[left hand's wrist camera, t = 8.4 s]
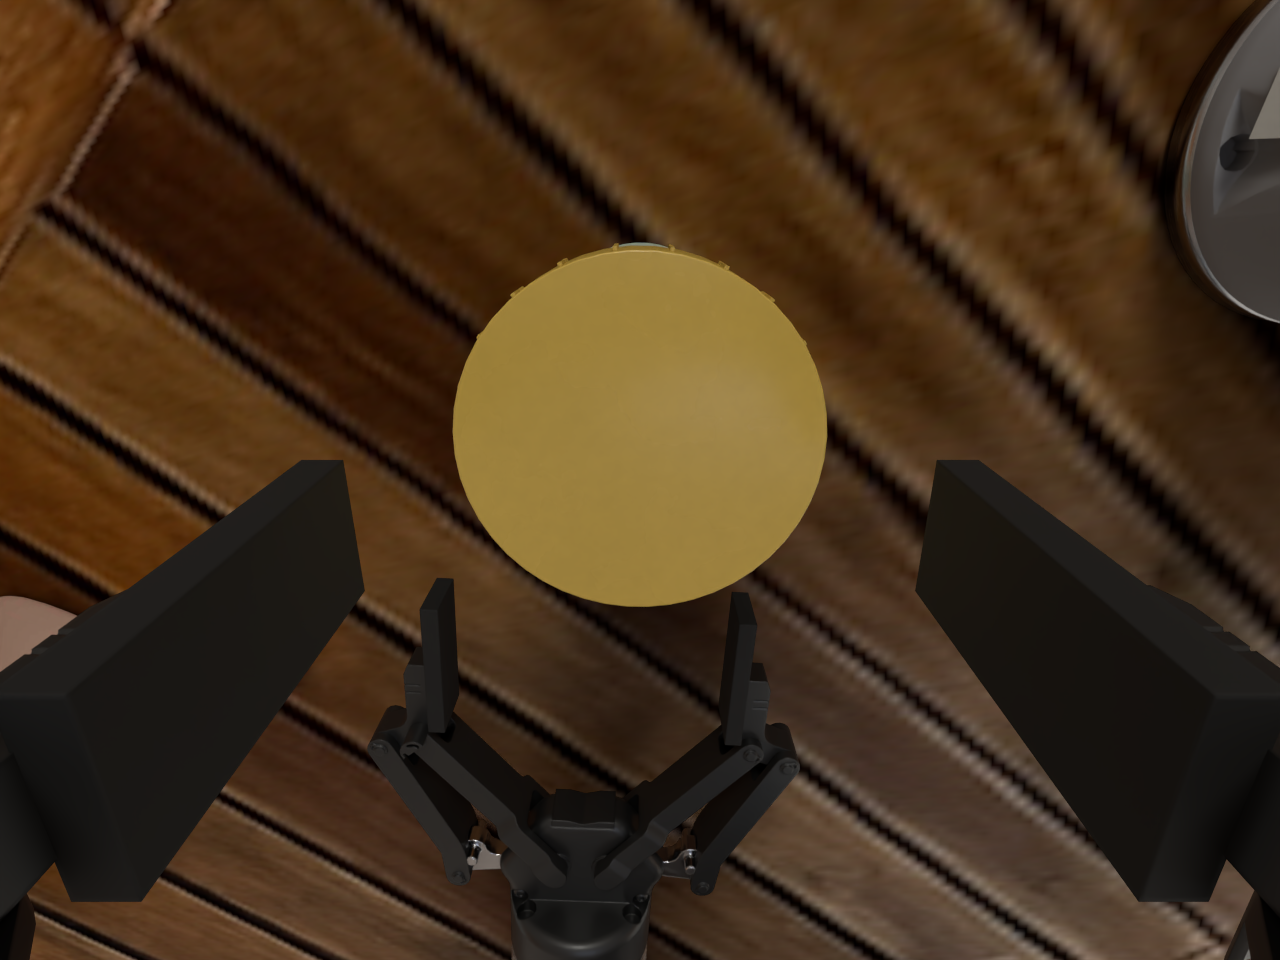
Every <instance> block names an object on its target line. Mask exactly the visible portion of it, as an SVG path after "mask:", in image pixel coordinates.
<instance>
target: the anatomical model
mask: <svg viewBox="0 0 1280 960" xmlns="http://www.w3.org/2000/svg"><path fill="white" fill-rule="evenodd" d="M75 617H77V615H74V614H72V613H69V612H67V611H65V610H62V609H59V608H56V607H54V606H51V605H48V604H45V603H42V602H38V601H35V600H32V599H28V598H24V597H17V596H3V597H0V672H1V671H2V670H4V669H5V668H6V667H8V666H9V665H10V664H12V663H13V662H15V661H16V660H17V659H19V658H20V657H21V656H23V655H24V654H31V652H32V650H31V649H32V648H34V647H35V646H37V645H38V644H39V643H41V642H42V641H44V640H45V639H46V638H48V637H49V636H50V635H57V634H58V630H59V629H60V628H61V627H63V626H64V625H66V624H67V623H68V622H70V621H71V620H72V619H74V618H75Z"/></svg>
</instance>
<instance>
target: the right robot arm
mask: <svg viewBox="0 0 1280 960" xmlns="http://www.w3.org/2000/svg"><path fill="white" fill-rule="evenodd" d="M420 621H421V635H422V647H416V649H415V651H414V653H413V655H412V657H411V659H410V661H409V663H408V665H407V667H406V670H405V672H404V684H405V697H406V708H403V707H401V706H397V705H395V706H390V707H389V708H387V710H386V711H385V713H384V715H383V717H382V719H381V721H380V723H379V725H378V727H377V729H376V731H375V733H374V735H373V737H372V739H371V741H370V743H369V745H368V752H369V754H370V756H371V757H372V759H373V760H374V761H375V763H376V764H377V765H378V767H379V768H380V770H381V771H382V772H383V774H384V775H385V776H386V778H387V779H388V781H389V782H390V783H391V785H392V786H393V787H394V789H395V790H396V792H397V793H398V794H399V796H400V797H401V798H402V800H403V801H404V802H405V804H406V805H407V807H408V808H409V809H410V811H411V812H412V813H413V815H414V816H415V818H416V819H417V820H418V822H419V823H420V824H421V826H422V827H423V829H424V830H425V831H426V833H427V834H428V835H429V837H430V838H431V840H432V841H433V842H434V844H435V845H436V846H437V848H438V849H439V851H440V852H441V853H442V858H443V862H444V867H445V871H446V876H447V879H448V881H450V882H451V883H452V884H455V885H465V884H467V883H468V882H469V881H470V878H471V874H472V870H482V869H501V871H502V873H503V874H504V875H505V877H506V878H507V879H508V881H509V883H510V890H511V937H512V946H511V947H512V960H646V955H647V939H648V931H649V919H650V907H651V895H652V889H653V887H654V885H655V884H656V883H657V882H658V881H659V880H660V878H661V876H669V877H677V878H685V879H690V884H691V890H692V892H693V893H695V894H696V895H707V894H710V893H711V892H712V891H713V889H714V886H715V883H716V880H717V876H718V873H719V869H720V866H721V864H722V863H723V862H724V861H725V859H726V858H727V857H728V856H729V855H730V853H731V852H732V851H733V850H734V849H735V847H736V846H737V845H738V844H739V843H740V841H741V840H742V839H743V838H744V837H745V836H746V834H747V833H748V832H749V831H750V830H751V828H752V827H753V826H754V825H755V824H756V822H757V821H758V820H759V819H760V818H761V816H762V815H763V814H764V813H765V812H766V810H767V809H768V808H769V807H770V806H771V804H772V803H773V802H774V801H775V800H776V798H777V797H778V796H779V795H780V794H781V792H782V791H783V790H784V789H785V788H786V787H787V785H788V784H789V783H790V782H791V781H792V779H793V778H794V777H795V776H796V775H797V773H798V772H799V770H800V765H799V761H798V758H797V754H796V751H795V747H794V744H793V740H792V737H791V733H790V730H789V728H788V726H786V725H785V724H783V723H774V724H772V725H768V724H766V718H767V711H768V704H769V698H770V688H769V684H768V680H767V677H766V673H765V670H764V667H763V664H762V663H752V660H753V652H754V645H755V638H756V630H757V623H756V619H755V616H754V612H753V609H752V605H751V602H750V598H749V594H748V593H743V592H732V596H731V604H730V613H729V621H728V630H727V638H726V647H725V655H724V664H723V672H722V681H721V689H720V698H719V712H720V718H721V726H719V727H718V728H717V729H716V730H714V731H713V732H712V733H711V734H710V735H708V736H707V737H706V738H705V739H703V740H702V741H701V742H700V743H698V744H697V745H696V746H695V747H694V748H692V749H691V750H690V751H689V752H687V753H686V754H685V755H684V756H682V757H681V758H680V759H679V760H678V761H676V762H675V763H674V764H673V765H671V766H670V767H669V768H668V769H667V770H665V771H664V772H663V773H662V774H660V775H659V776H658V777H657V778H655V779H654V780H653V781H652V782H648V781H647V780H645V781H643V782H641V783H640V784H639V785H638V786H637V787H635V788H634V789H633V790H632V791H630V792H629V793H628V794H627V795H626V796H624V797H623V798H620V797H617V796H616V791H597V792H591V793H583V792H579V791H575V790H570V789H556V794H552V795H550V794H549V793H548V792H547V791H546V790H545V789H543V788H542V787H541V786H540V785H539V784H538V783H537V782H536V781H535V780H534V779H533V778H532V777H531V776H529V775H526V776H524V777H522V776H521V775H520V774H519V773H518V772H516V771H515V770H514V769H513V768H512V767H511V766H510V765H509V764H508V763H507V762H506V761H505V760H504V759H503V758H502V757H501V756H500V755H499V754H497V753H496V752H495V751H494V750H493V749H492V748H491V747H490V746H489V745H488V744H487V743H486V742H485V741H484V740H483V739H482V738H481V737H480V736H478V735H477V734H476V733H475V732H474V731H473V730H472V729H471V728H470V727H469V726H468V725H467V724H466V723H465V722H464V721H463V720H462V719H461V718H459V717H458V716H457V715H456V714H455V713H454V712H453V710H454V707H455V704H456V701H457V699H458V696H459V682H458V662H457V641H456V621H455V601H454V580H453V579H449V578H437V579H436V581H435V583H434V584H433V586H432V588H431V590H430V592H429V593H428V595H427V597H426V599H425V601H424V603H423V604H422V606H421V608H420ZM615 796H616V797H615ZM470 803H471V804H472V805H473V806H475V807H476V808H477V809H478V810H479V811H480V812H481V813H482V814H483V815H485V816H486V817H487V818H488V819H489V820H490V821H491V822H492V823H493V824H494V825H495V826H496V828H497V831H498V836H499V838H500V840H498V839H495V838H493V837H492V836H491V835H490V833H489V831H488V830H487V829H486V826H487V822H486V821H485V820H483V819H479V820H477V817H476V814H475V811H474V809H473V807H472V805H471V804H470ZM707 803H708V804H707ZM705 804H707V805H706V806H705V808H704V809H703V810H702V811H701V813H700V814H699V816H698V817H697V819H696V821H695V823H694V826H693V828H692V829H689V828H686V829H684V830H683V832H682V836H683V837H681V838H680V839H679V840H678V842H677V843H676V844H675V845H674V846H671V847H663V845H664V843H665V841H666V838H667V836H668V834H669V833H670V832H671V831H672V830H673V829H675V828H676V827H677V826H678V825H680V824H681V823H682V822H684V821H685V820H686V819H687V818H689V817H690V816H691V815H693V814H694V813H695V812H696V811H698V810H699V809H700V808H702V807H703V806H704V805H705Z"/></svg>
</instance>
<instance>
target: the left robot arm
mask: <svg viewBox="0 0 1280 960" xmlns="http://www.w3.org/2000/svg"><path fill="white" fill-rule="evenodd" d="M1164 200H1165V214H1166V219H1167V225H1168V230H1169V234H1170V237H1171V241H1172V244H1173V247H1174V249H1175V251H1176V254H1177V256H1178V258H1179V260H1180V262H1181V264H1182V265H1183V267H1184V269H1185V271H1186V272H1187V273H1188V275H1189V276H1190V277H1191V279H1192V280H1193V281H1194V283H1195V284H1196V285H1197V286H1198V287H1199V288H1200V289H1201V290H1202V291H1203V292H1204V293H1205V294H1207V295H1208V296H1209V297H1210V298H1212V299H1213V300H1214V301H1216V302H1217V303H1219V304H1221V305H1222V306H1224V307H1226V308H1227V309H1229V310H1232V311H1234V312H1236V313H1239V314H1241V315H1244V316H1247V317H1251V318H1254V319H1259V320H1264V321H1270V322H1275V323H1280V0H1255V1H1254V2H1253V3H1252V4H1251V5H1250V6H1249V7H1248V8H1247V9H1246V10H1245V11H1244V12H1243V14H1242V15H1241V16H1240V17H1239V18H1238V19H1237V20H1236V21H1235V22H1234V23H1233V25H1232V26H1231V27H1230V28H1229V30H1228V31H1227V32H1226V34H1225V35H1224V36H1223V37H1222V39H1221V40H1220V41H1219V42H1218V44H1217V45H1216V47H1215V48H1214V50H1213V51H1212V53H1211V54H1210V56H1209V57H1208V59H1207V60H1206V62H1205V63H1204V65H1203V67H1202V69H1201V70H1200V72H1199V74H1198V76H1197V77H1196V79H1195V81H1194V83H1193V85H1192V87H1191V89H1190V91H1189V93H1188V95H1187V97H1186V99H1185V102H1184V104H1183V107H1182V109H1181V112H1180V114H1179V117H1178V120H1177V123H1176V126H1175V129H1174V132H1173V136H1172V139H1171V143H1170V148H1169V153H1168V157H1167V164H1166V172H1165V188H1164ZM364 591H365V590H364V584H363V578H362V572H361V566H360V560H359V554H358V548H357V541H356V535H355V529H354V523H353V517H352V511H351V505H350V499H349V493H348V487H347V481H346V475H345V469H344V463H343V460H301V461H300V462H298V463H297V464H296V465H294V466H293V467H292V468H290V469H289V470H288V471H286V472H285V473H283V474H282V475H281V476H279V477H278V478H277V479H275V480H274V481H273V482H271V483H270V484H269V485H267V486H266V487H265V488H263V489H262V490H261V491H259V492H258V493H257V494H255V495H254V496H253V497H251V498H250V499H249V500H247V501H246V502H245V503H243V504H242V505H240V506H239V507H238V508H236V509H235V510H234V511H232V512H231V513H230V514H228V515H227V516H226V517H224V518H223V519H222V520H220V521H219V522H218V523H216V524H215V525H214V526H212V527H211V528H210V529H208V530H207V531H206V532H204V533H203V534H202V535H200V536H199V537H198V538H196V539H195V540H193V541H192V542H191V543H189V544H188V545H187V546H185V547H184V548H183V549H181V550H180V551H179V552H177V553H176V554H175V555H173V556H172V557H171V558H169V559H168V560H167V561H165V562H164V563H163V564H161V565H160V566H159V567H157V568H156V569H155V570H153V571H152V572H151V573H149V574H148V575H146V576H145V577H144V578H142V579H141V580H140V581H138V582H137V583H136V584H134V585H133V586H132V587H130V588H129V589H127V590H125V591H123V592H121V593H119V594H116V595H114V596H112V597H110V598H108V599H106V600H104V601H102V602H99V603H97V604H95V605H93V606H91V607H89V608H88V609H86V610H85V611H84V612H82V613H81V614H79V615H78V616H77V617H75V618H74V619H72V620H71V621H70V622H68V623H67V624H66V625H64V626H63V627H61V628H60V629H59V630H58V634H57V635H50V636H49V637H48V638H46V639H45V640H44V641H42V642H41V643H39V644H38V645H37V646H35V647H34V648H32V649H31V650H32V652H31V654H24V655H23V656H21V657H20V658H19V659H17V660H16V661H15V662H13V663H12V664H10V665H9V666H8V667H6V668H5V669H4V670H2V671H1V672H0V960H29V959H30V954H31V948H32V942H33V937H34V931H35V925H36V921H35V915H34V909H33V906H32V904H31V902H30V899H29V897H28V895H27V892H28V891H29V890H30V889H31V888H32V887H33V885H34V884H35V883H36V882H37V881H38V880H39V879H40V878H41V876H42V875H43V874H44V873H45V872H46V871H47V870H48V869H49V868H50V866H51V865H52V864H53V863H54V862H55V864H56V866H57V869H58V871H59V873H60V876H61V878H62V881H63V883H64V885H65V888H66V890H67V892H68V895H69V897H70V900H71V902H141V901H142V900H143V899H144V897H145V896H146V894H147V893H148V892H149V890H150V889H151V887H152V886H153V885H154V883H155V882H156V881H157V879H158V878H159V876H160V875H161V874H162V872H163V871H164V869H165V868H166V867H167V865H168V864H169V862H170V861H171V860H172V858H173V857H174V855H175V854H176V853H177V851H178V850H179V849H180V847H181V846H182V844H183V843H184V842H185V840H186V839H187V837H188V836H189V835H190V833H191V832H192V830H193V829H194V828H195V826H196V825H197V823H198V822H199V821H200V819H201V818H202V817H203V815H204V814H205V812H206V811H207V810H208V808H209V807H210V805H211V804H212V803H213V801H214V800H215V798H216V797H217V796H218V794H219V793H220V792H221V790H222V789H223V787H224V786H225V785H226V783H227V782H228V780H229V779H230V778H231V776H232V775H233V773H234V772H235V771H236V769H237V768H238V766H239V765H240V764H241V762H242V761H243V760H244V758H245V757H246V755H247V754H248V753H249V751H250V750H251V748H252V747H253V746H254V744H255V743H256V741H257V740H258V739H259V737H260V736H261V734H262V733H263V732H264V730H265V729H266V728H267V726H268V725H269V723H270V722H271V721H272V719H273V718H274V716H275V715H276V714H277V712H278V711H279V709H280V708H281V707H282V705H283V704H284V702H285V701H286V700H287V698H288V697H289V696H290V694H291V693H292V691H293V690H294V689H295V687H296V686H297V684H298V683H299V682H300V680H301V679H302V677H303V676H304V675H305V673H306V672H307V670H308V669H309V668H310V666H311V665H312V664H313V662H314V661H315V659H316V658H317V657H318V655H319V654H320V652H321V651H322V650H323V648H324V647H325V645H326V644H327V643H328V641H329V640H330V639H331V637H332V636H333V634H334V633H335V632H336V630H337V629H338V627H339V626H340V625H341V623H342V622H343V620H344V619H345V618H346V616H347V615H348V613H349V612H350V611H351V609H352V608H353V607H354V605H355V604H356V602H357V601H358V600H359V598H360V597H361V595H362V594H363V593H364ZM915 591H916V593H917V594H918V595H919V597H920V598H921V600H922V601H923V602H924V604H925V605H926V607H927V608H928V609H929V611H930V612H931V613H932V615H933V616H934V618H935V619H936V620H937V622H938V623H939V625H940V626H941V627H942V629H943V630H944V632H945V633H946V634H947V636H948V637H949V639H950V640H951V641H952V643H953V644H954V645H955V647H956V648H957V650H958V651H959V652H960V654H961V655H962V657H963V658H964V659H965V661H966V662H967V664H968V665H969V666H970V668H971V669H972V671H973V672H974V673H975V675H976V676H977V677H978V679H979V680H980V682H981V683H982V684H983V686H984V687H985V689H986V690H987V691H988V693H989V694H990V696H991V697H992V698H993V700H994V701H995V702H996V704H997V705H998V707H999V708H1000V709H1001V711H1002V712H1003V714H1004V715H1005V716H1006V718H1007V719H1008V721H1009V722H1010V723H1011V725H1012V726H1013V728H1014V729H1015V730H1016V732H1017V733H1018V734H1019V736H1020V737H1021V739H1022V740H1023V741H1024V743H1025V744H1026V746H1027V747H1028V748H1029V750H1030V751H1031V753H1032V754H1033V755H1034V757H1035V758H1036V760H1037V761H1038V762H1039V764H1040V765H1041V766H1042V768H1043V769H1044V771H1045V772H1046V773H1047V775H1048V776H1049V778H1050V779H1051V780H1052V782H1053V783H1054V785H1055V786H1056V787H1057V789H1058V790H1059V792H1060V793H1061V794H1062V796H1063V797H1064V798H1065V800H1066V801H1067V803H1068V804H1069V805H1070V807H1071V808H1072V810H1073V811H1074V812H1075V814H1076V815H1077V817H1078V818H1079V819H1080V821H1081V822H1082V823H1083V825H1084V826H1085V828H1086V829H1087V830H1088V832H1089V833H1090V835H1091V836H1092V837H1093V839H1094V840H1095V842H1096V843H1097V844H1098V846H1099V847H1100V849H1101V850H1102V851H1103V853H1104V854H1105V855H1106V857H1107V858H1108V860H1109V861H1110V862H1111V864H1112V865H1113V867H1114V868H1115V869H1116V871H1117V872H1118V874H1119V875H1120V876H1121V878H1122V879H1123V881H1124V882H1125V883H1126V885H1127V886H1128V887H1129V889H1130V890H1131V892H1132V893H1133V894H1134V896H1135V897H1136V899H1137V900H1138V901H1139V902H1209V900H1210V897H1211V895H1212V892H1213V890H1214V888H1215V885H1216V883H1217V881H1218V878H1219V876H1220V873H1221V871H1222V869H1223V866H1224V864H1225V861H1226V859H1227V860H1228V861H1229V862H1230V863H1231V864H1232V866H1233V867H1234V868H1235V869H1236V870H1237V871H1238V872H1239V873H1240V874H1241V876H1242V877H1243V878H1244V879H1245V880H1246V881H1247V882H1248V883H1249V884H1250V886H1251V887H1252V888H1253V889H1254V893H1253V895H1252V897H1251V899H1250V902H1249V904H1248V906H1247V908H1246V911H1245V913H1244V915H1243V917H1242V919H1241V922H1240V924H1239V926H1238V928H1237V931H1236V933H1235V935H1234V937H1233V939H1232V942H1231V944H1230V946H1229V948H1228V951H1227V953H1226V955H1225V958H1224V960H1248V959H1250V958H1251V960H1280V668H1279V667H1278V666H1276V665H1275V664H1273V663H1272V662H1271V661H1269V660H1268V659H1266V658H1265V657H1264V656H1262V655H1261V654H1259V653H1258V652H1257V651H1250V649H1249V648H1250V646H1248V645H1247V644H1246V643H1244V642H1243V641H1241V640H1240V639H1239V638H1237V637H1236V636H1234V635H1233V634H1232V633H1230V632H1224V631H1223V627H1222V626H1221V625H1219V624H1218V623H1216V622H1215V621H1214V620H1212V619H1211V618H1209V617H1208V616H1207V615H1205V614H1204V613H1202V612H1201V611H1200V610H1198V609H1197V608H1196V607H1194V606H1193V605H1191V604H1189V603H1187V602H1185V601H1183V600H1181V599H1178V598H1176V597H1174V596H1172V595H1170V594H1168V593H1166V592H1163V591H1161V590H1159V589H1157V588H1155V587H1153V586H1151V585H1146V584H1144V583H1143V582H1142V581H1140V580H1139V579H1138V578H1136V577H1135V576H1134V575H1132V574H1131V573H1129V572H1128V571H1127V570H1125V569H1124V568H1123V567H1121V566H1120V565H1119V564H1117V563H1116V562H1115V561H1113V560H1112V559H1111V558H1109V557H1108V556H1107V555H1105V554H1104V553H1103V552H1101V551H1100V550H1099V549H1097V548H1096V547H1095V546H1093V545H1092V544H1091V543H1089V542H1088V541H1087V540H1085V539H1084V538H1082V537H1081V536H1080V535H1078V534H1077V533H1076V532H1074V531H1073V530H1072V529H1070V528H1069V527H1068V526H1066V525H1065V524H1064V523H1062V522H1061V521H1060V520H1058V519H1057V518H1056V517H1054V516H1053V515H1052V514H1050V513H1049V512H1048V511H1046V510H1045V509H1044V508H1042V507H1041V506H1040V505H1038V504H1037V503H1035V502H1034V501H1033V500H1031V499H1030V498H1029V497H1027V496H1026V495H1025V494H1023V493H1022V492H1021V491H1019V490H1018V489H1017V488H1015V487H1014V486H1013V485H1011V484H1010V483H1009V482H1007V481H1006V480H1005V479H1003V478H1002V477H1001V476H999V475H998V474H997V473H995V472H994V471H992V470H991V469H990V468H988V467H987V466H986V465H984V464H983V463H982V462H980V461H979V460H937V463H936V469H935V475H934V481H933V487H932V493H931V499H930V505H929V511H928V517H927V523H926V529H925V535H924V541H923V548H922V554H921V560H920V566H919V572H918V578H917V584H916V590H915Z"/></svg>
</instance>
